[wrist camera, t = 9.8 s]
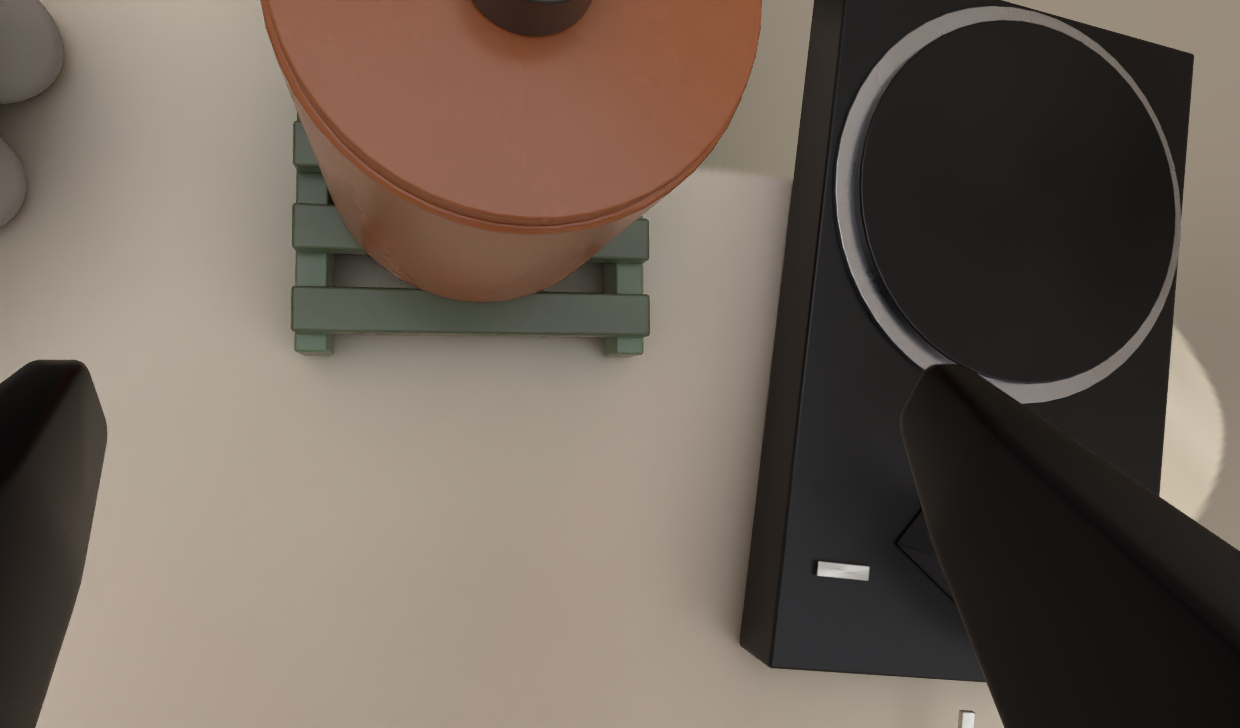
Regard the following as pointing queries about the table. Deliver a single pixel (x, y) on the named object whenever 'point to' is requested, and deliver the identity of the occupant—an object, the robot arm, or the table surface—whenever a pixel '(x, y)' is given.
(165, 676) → the table surface
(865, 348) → the hob
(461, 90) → the pot
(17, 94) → the round bodied animal figurine
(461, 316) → the rack
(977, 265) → the hob plate
